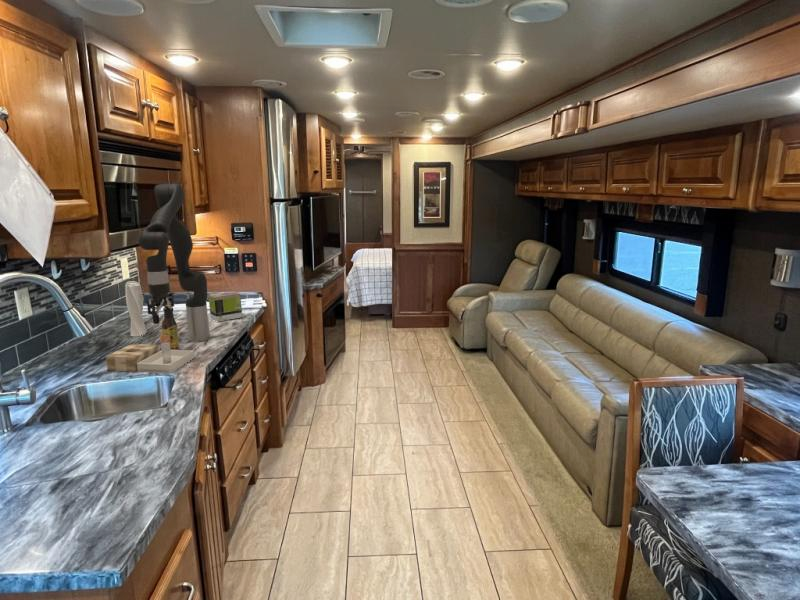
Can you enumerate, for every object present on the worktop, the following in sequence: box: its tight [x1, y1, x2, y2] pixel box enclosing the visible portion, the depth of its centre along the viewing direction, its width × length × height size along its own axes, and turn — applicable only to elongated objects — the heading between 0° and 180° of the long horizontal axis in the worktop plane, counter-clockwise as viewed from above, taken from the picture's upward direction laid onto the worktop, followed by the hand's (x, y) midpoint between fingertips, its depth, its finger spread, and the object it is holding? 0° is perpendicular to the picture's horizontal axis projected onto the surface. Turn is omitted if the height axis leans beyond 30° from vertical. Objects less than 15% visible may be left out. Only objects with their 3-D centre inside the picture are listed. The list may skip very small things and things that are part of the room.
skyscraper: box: [124, 280, 148, 337], centre depth 236 cm, size 8×8×28 cm
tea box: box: [207, 290, 243, 322], centre depth 269 cm, size 15×10×15 cm, turn 130°
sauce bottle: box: [161, 307, 180, 350], centre depth 214 cm, size 6×6×20 cm
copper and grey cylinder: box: [159, 333, 171, 364], centre depth 197 cm, size 3×3×12 cm
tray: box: [137, 349, 195, 374], centre depth 198 cm, size 18×14×4 cm
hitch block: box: [105, 343, 160, 373], centre depth 198 cm, size 16×12×6 cm
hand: (162, 320), depth 194 cm, fingers open, 8 cm apart
